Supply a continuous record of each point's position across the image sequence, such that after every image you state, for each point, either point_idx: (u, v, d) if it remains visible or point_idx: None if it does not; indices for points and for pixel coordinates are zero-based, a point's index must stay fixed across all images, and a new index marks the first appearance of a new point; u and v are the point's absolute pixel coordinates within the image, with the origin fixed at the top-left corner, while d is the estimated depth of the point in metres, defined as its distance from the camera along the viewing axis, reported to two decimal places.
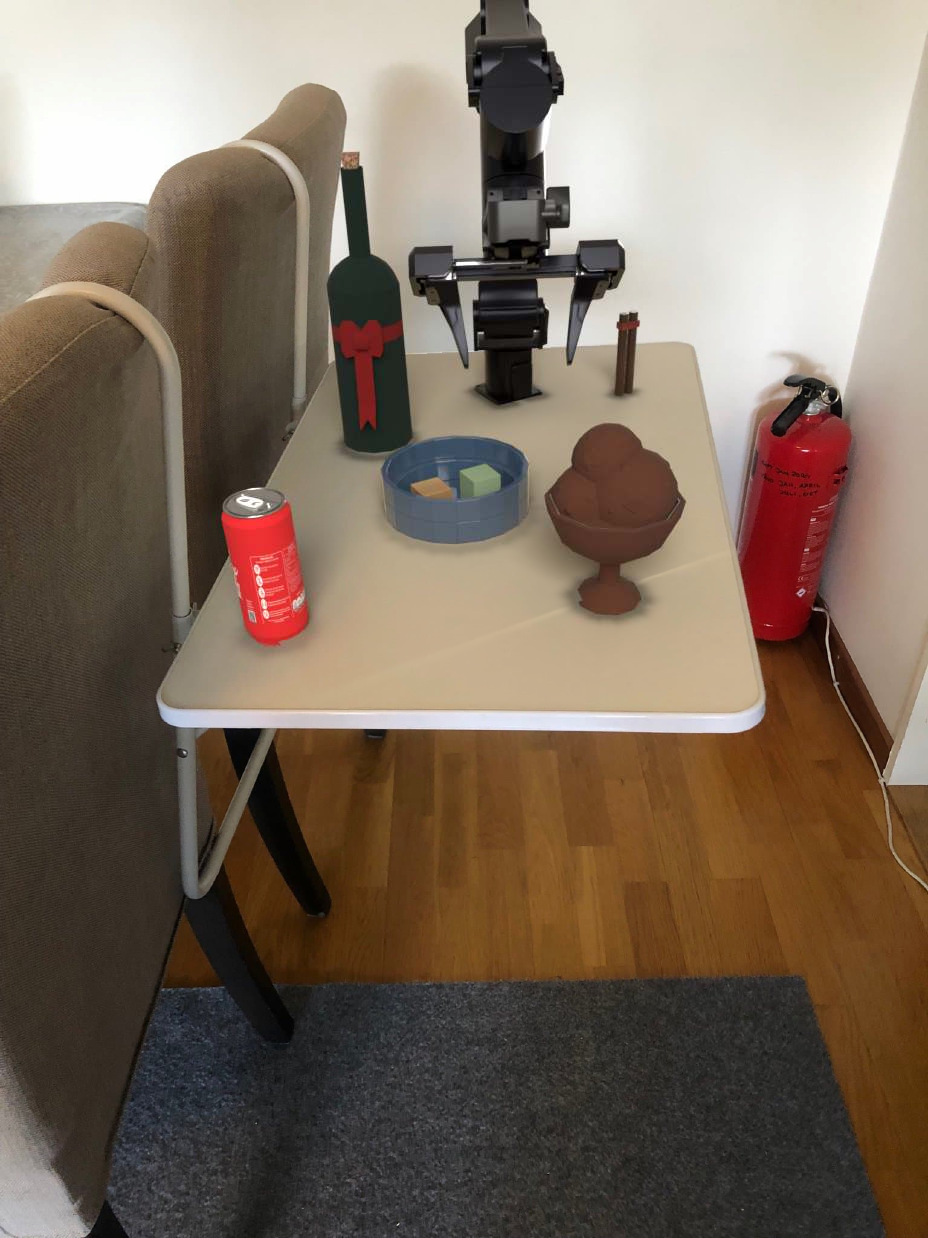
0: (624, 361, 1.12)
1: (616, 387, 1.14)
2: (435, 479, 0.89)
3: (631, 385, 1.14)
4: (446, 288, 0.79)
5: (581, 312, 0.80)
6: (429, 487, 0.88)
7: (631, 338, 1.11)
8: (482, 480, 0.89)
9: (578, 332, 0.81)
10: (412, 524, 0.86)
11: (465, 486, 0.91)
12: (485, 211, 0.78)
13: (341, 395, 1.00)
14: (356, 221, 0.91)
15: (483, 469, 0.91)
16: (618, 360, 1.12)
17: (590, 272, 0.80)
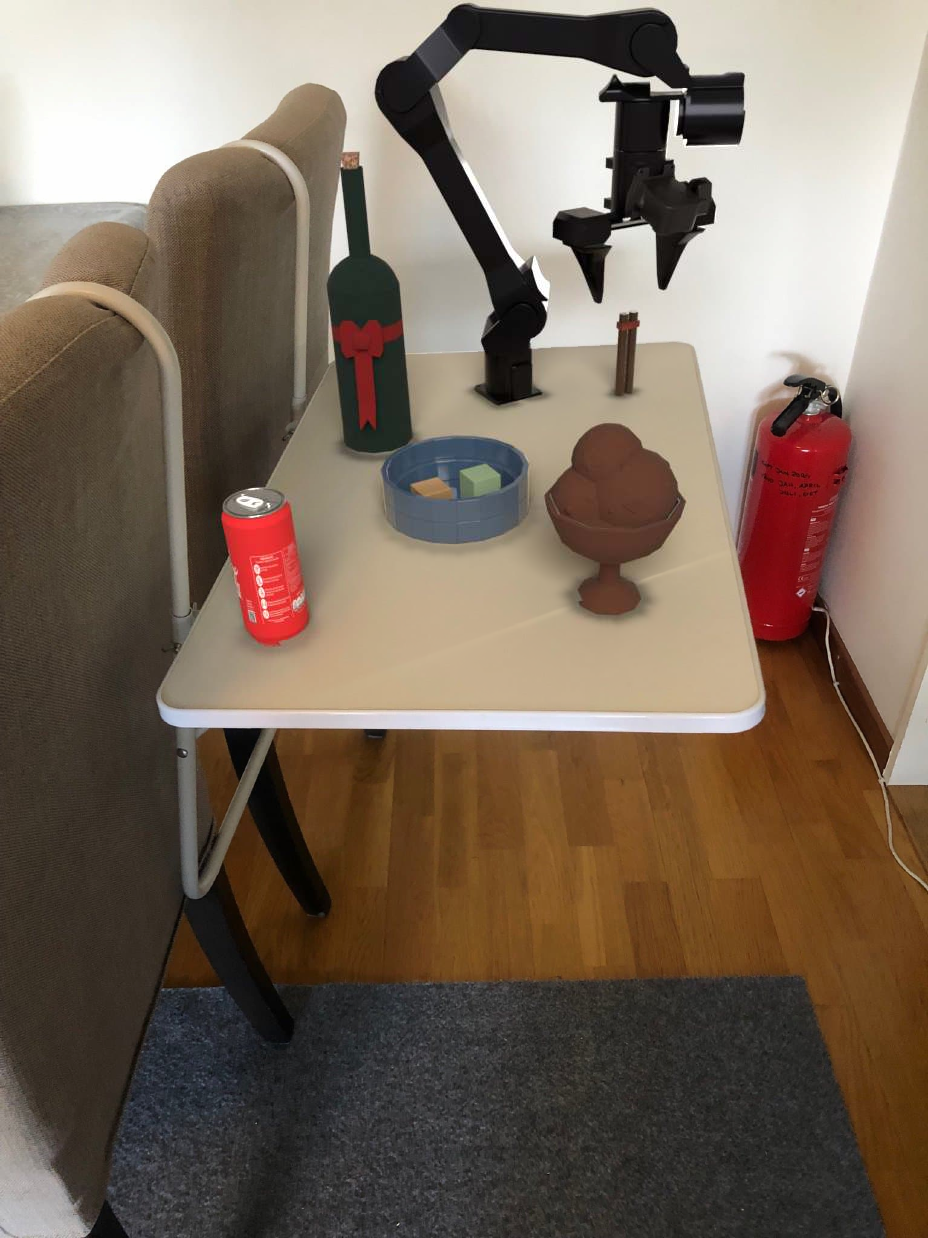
0: (624, 361, 1.12)
1: (616, 387, 1.14)
2: (435, 479, 0.89)
3: (631, 385, 1.14)
4: (602, 252, 1.00)
5: (679, 253, 1.06)
6: (429, 487, 0.88)
7: (631, 338, 1.11)
8: (482, 480, 0.89)
9: (674, 268, 1.07)
10: (412, 524, 0.86)
11: (465, 486, 0.91)
12: (636, 187, 0.97)
13: (341, 395, 1.00)
14: (356, 221, 0.91)
15: (483, 469, 0.91)
16: (618, 360, 1.12)
17: None
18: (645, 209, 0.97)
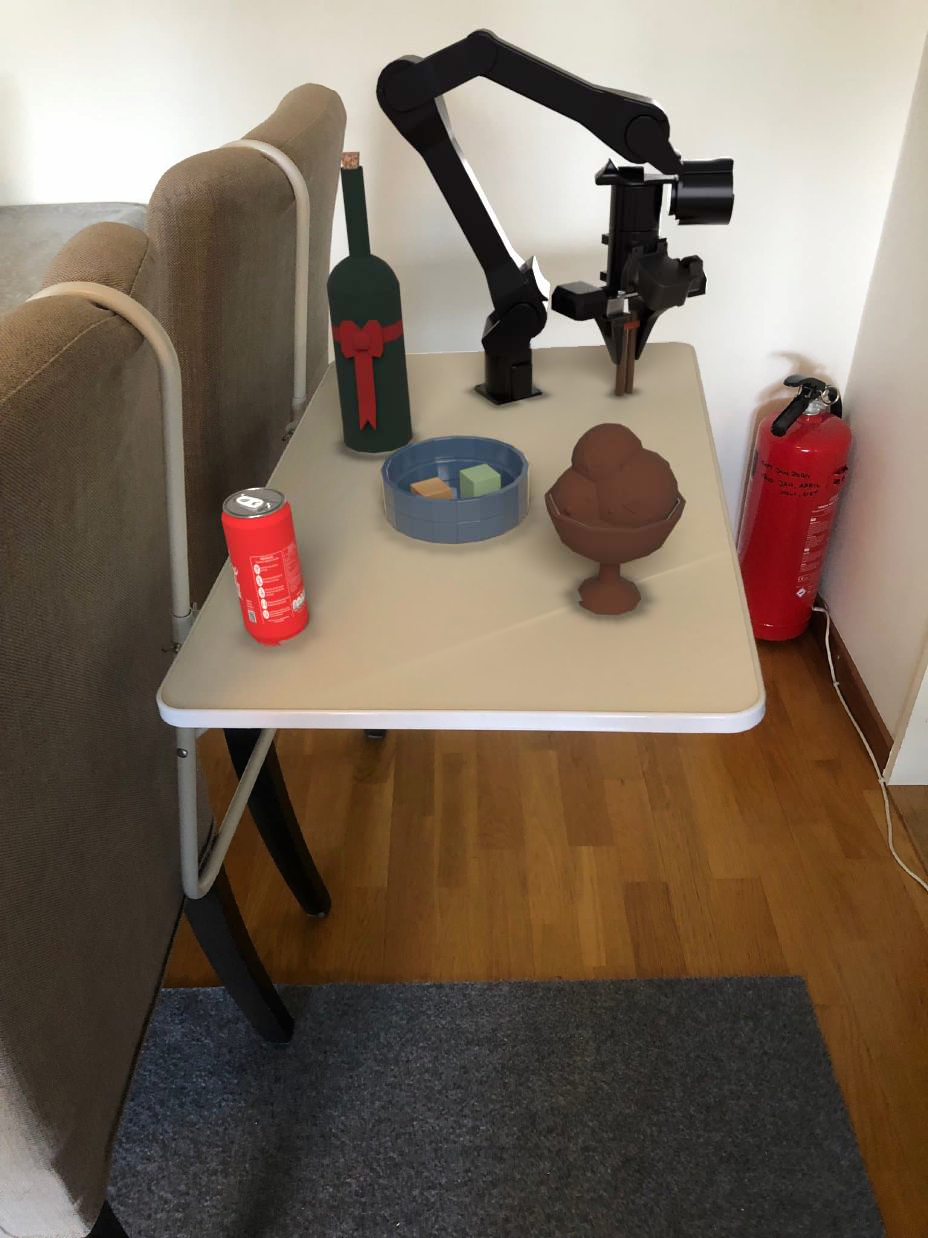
0: (624, 361, 1.12)
1: (616, 387, 1.14)
2: (435, 479, 0.89)
3: (631, 385, 1.14)
4: (621, 319, 1.06)
5: (651, 326, 1.10)
6: (429, 487, 0.88)
7: (631, 338, 1.11)
8: (482, 480, 0.89)
9: (646, 339, 1.11)
10: (412, 524, 0.86)
11: (465, 486, 0.91)
12: (630, 264, 1.02)
13: (341, 395, 1.00)
14: (356, 221, 0.91)
15: (483, 469, 0.91)
16: None
17: None
18: (640, 285, 1.02)
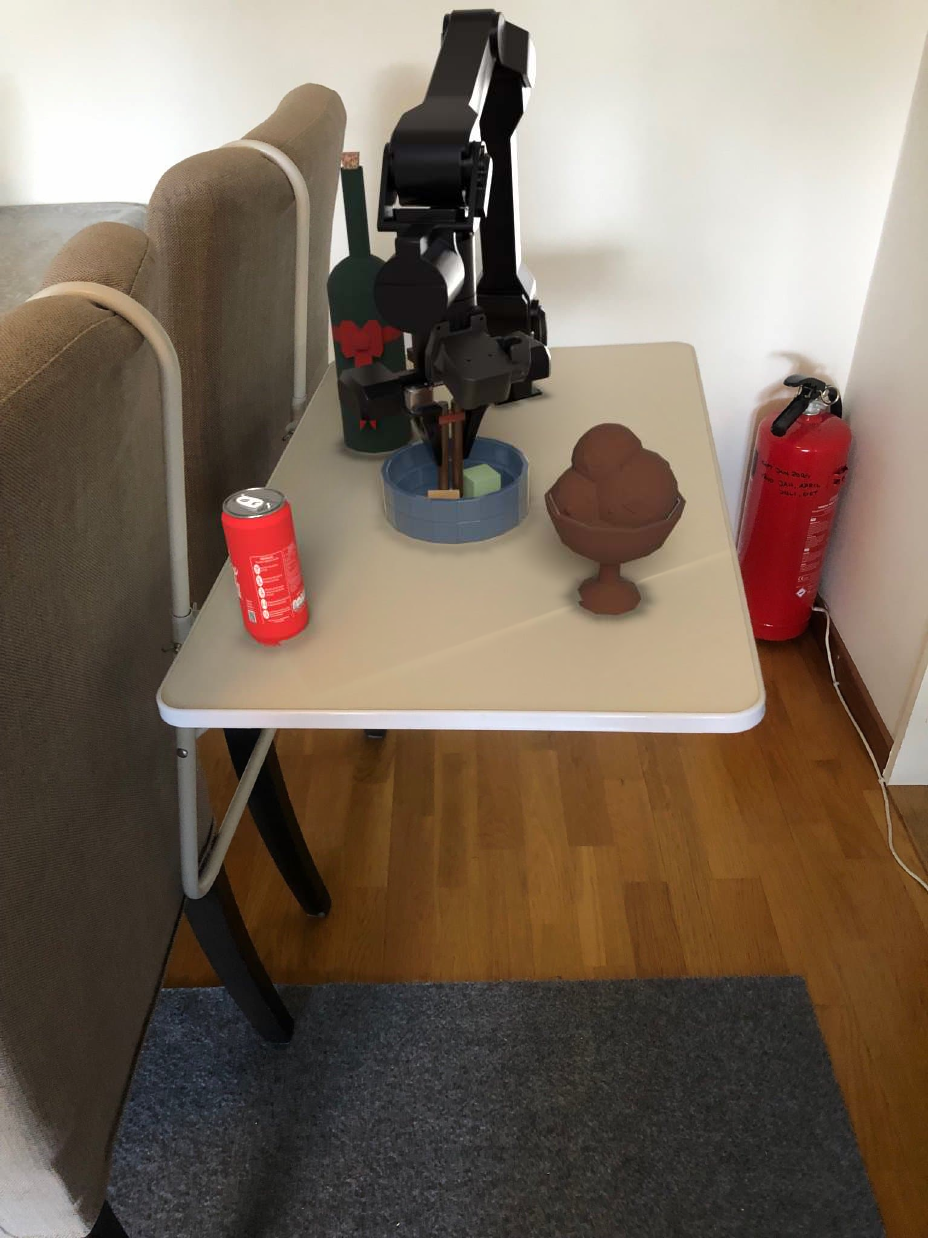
0: (446, 461, 0.86)
1: None
2: (454, 491, 0.87)
3: (460, 489, 0.88)
4: (431, 414, 0.80)
5: (478, 419, 0.84)
6: None
7: (454, 434, 0.84)
8: (482, 480, 0.89)
9: (475, 435, 0.85)
10: (412, 524, 0.86)
11: (465, 486, 0.91)
12: (433, 346, 0.76)
13: None
14: (356, 221, 0.91)
15: (483, 469, 0.91)
16: None
17: None
18: (445, 375, 0.76)
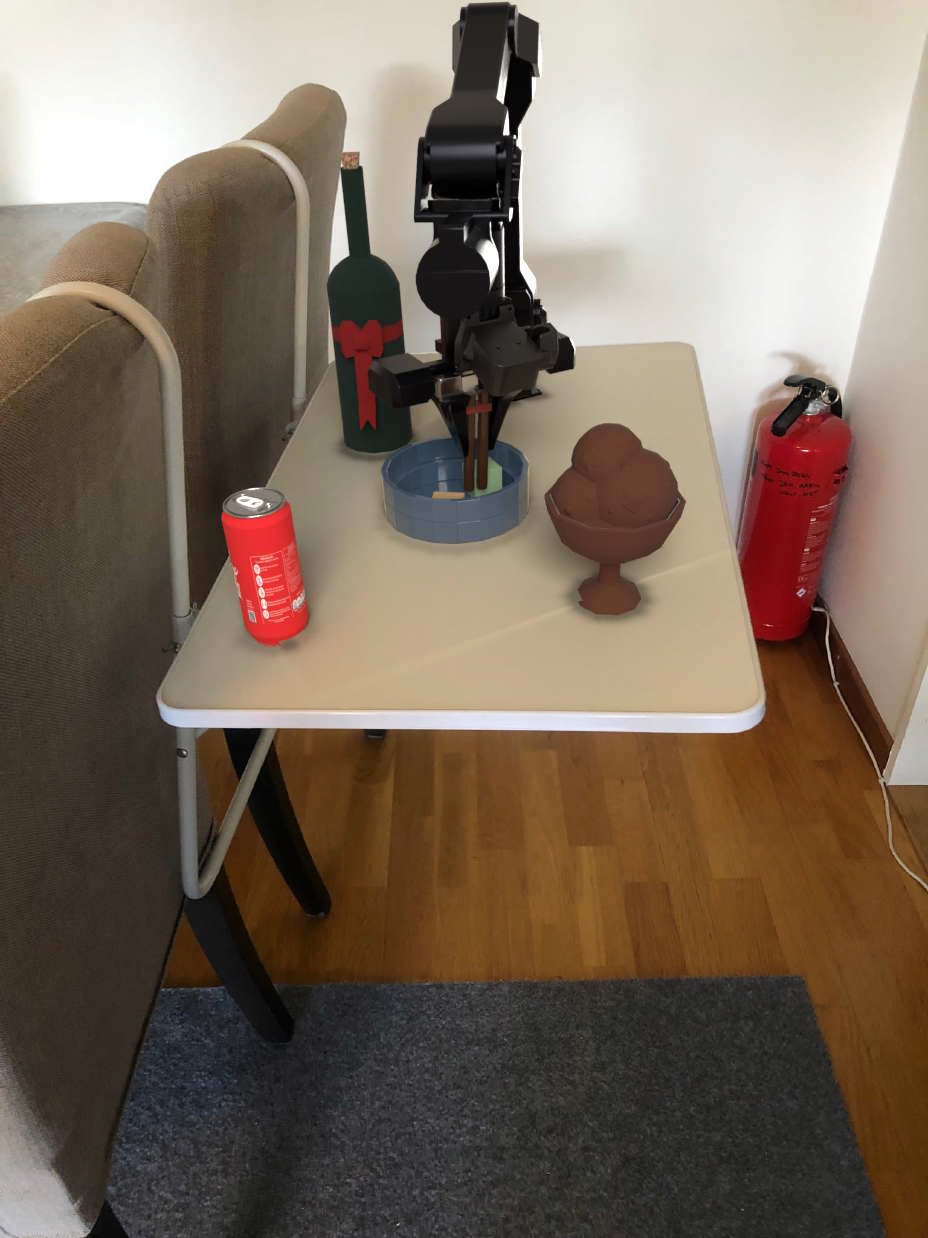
0: (472, 451, 0.87)
1: (464, 481, 0.89)
2: (459, 494, 0.87)
3: (484, 480, 0.89)
4: (459, 403, 0.81)
5: (504, 409, 0.85)
6: None
7: (480, 424, 0.86)
8: None
9: (500, 425, 0.86)
10: (412, 524, 0.86)
11: None
12: (463, 335, 0.78)
13: (341, 395, 1.00)
14: (356, 221, 0.91)
15: None
16: None
17: None
18: (475, 363, 0.77)
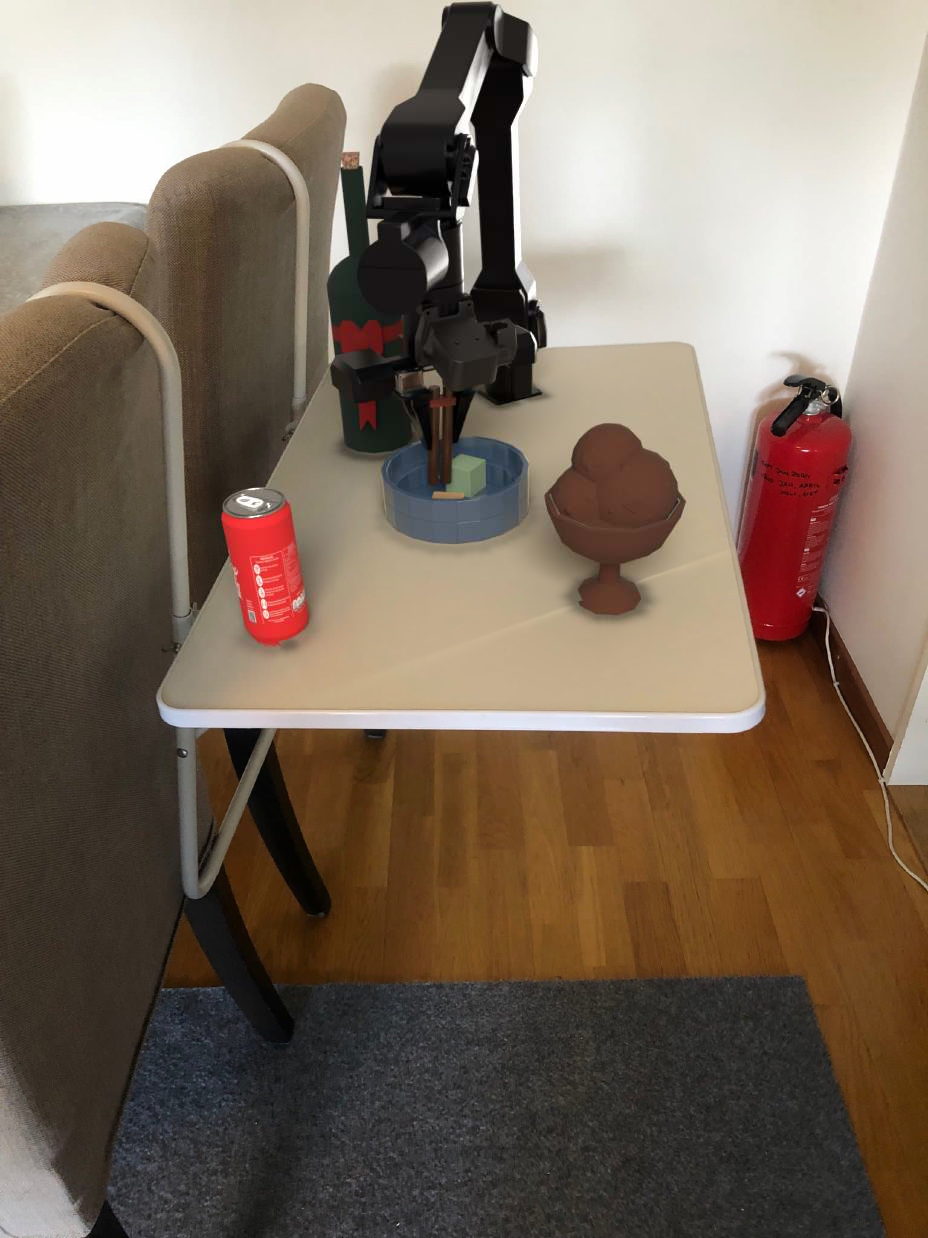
0: (436, 445, 0.88)
1: (428, 475, 0.90)
2: (459, 494, 0.87)
3: (448, 474, 0.91)
4: (421, 398, 0.83)
5: (467, 403, 0.87)
6: None
7: (445, 418, 0.87)
8: (452, 467, 0.92)
9: (464, 419, 0.88)
10: (412, 524, 0.86)
11: None
12: (423, 331, 0.79)
13: (341, 395, 1.00)
14: (356, 221, 0.91)
15: (472, 461, 0.92)
16: None
17: None
18: (434, 358, 0.79)
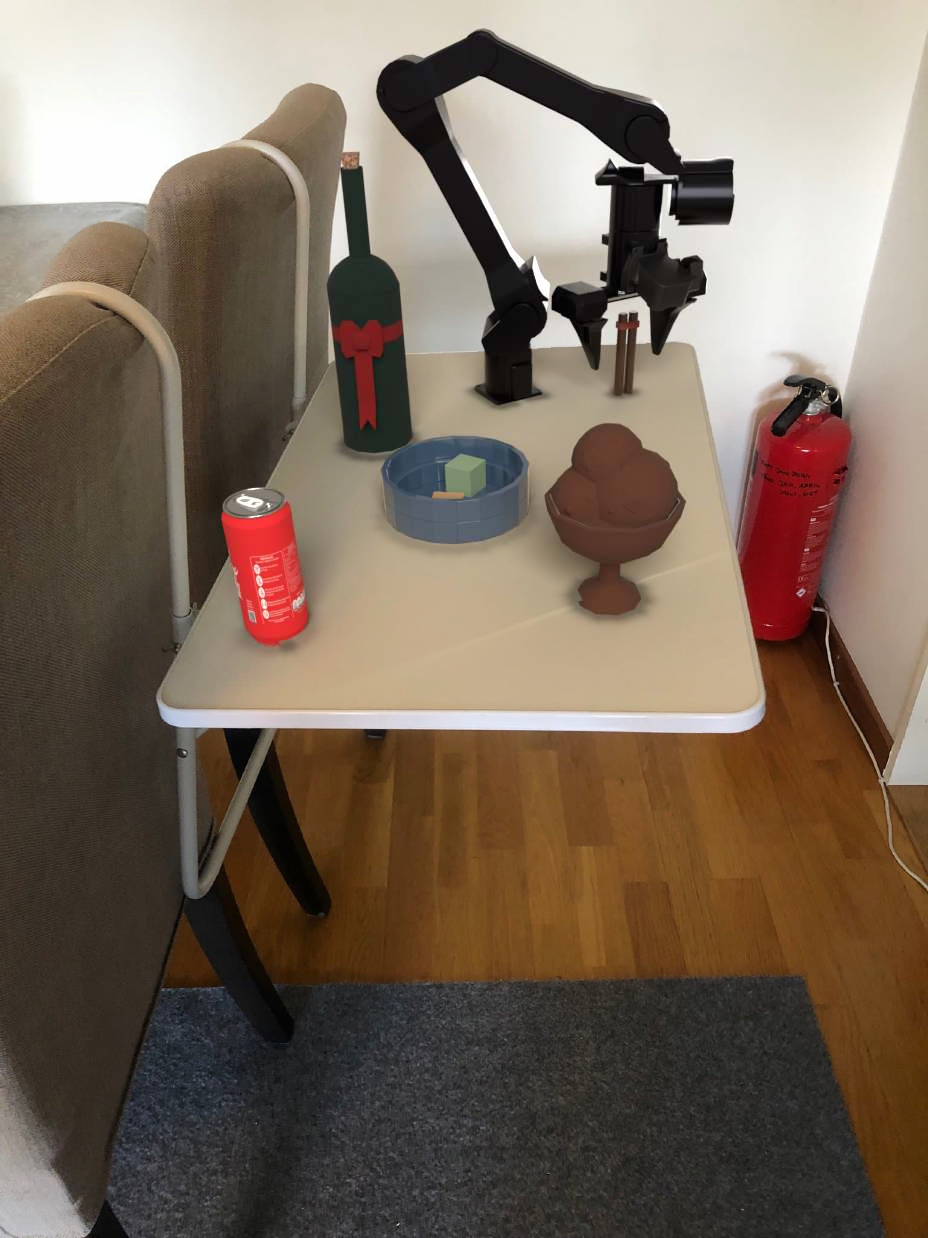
0: (623, 361, 1.12)
1: (615, 386, 1.14)
2: (459, 494, 0.87)
3: (630, 385, 1.14)
4: (599, 324, 1.05)
5: (672, 321, 1.11)
6: None
7: (630, 339, 1.11)
8: (452, 467, 0.92)
9: (667, 335, 1.12)
10: (412, 524, 0.86)
11: None
12: (631, 265, 1.02)
13: (341, 395, 1.00)
14: (356, 221, 0.91)
15: (472, 461, 0.92)
16: (617, 360, 1.12)
17: None
18: (640, 286, 1.02)
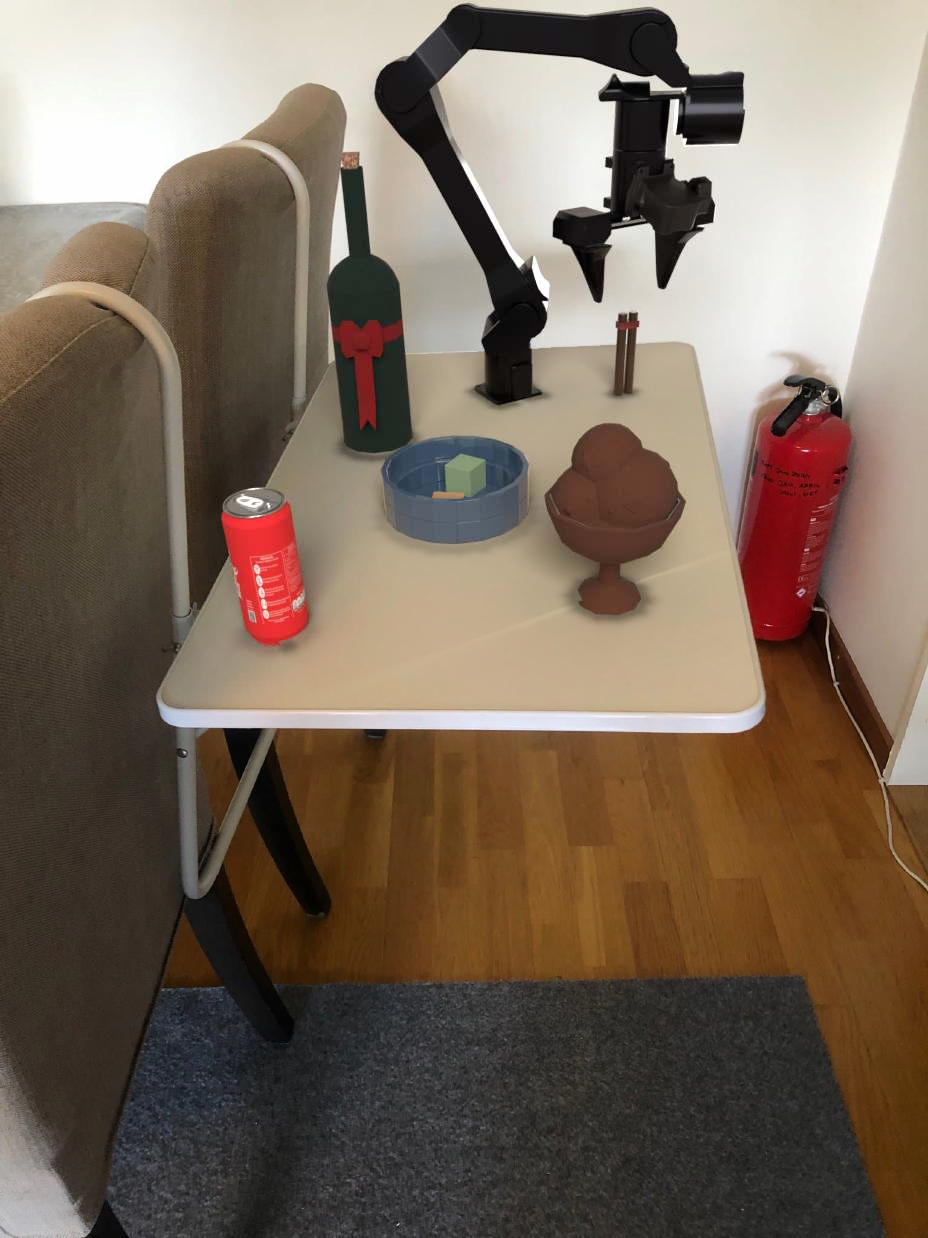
0: (622, 361, 1.12)
1: (615, 386, 1.14)
2: (459, 494, 0.87)
3: (630, 385, 1.14)
4: (602, 251, 1.00)
5: (678, 252, 1.06)
6: None
7: (630, 338, 1.11)
8: (452, 467, 0.92)
9: (674, 267, 1.07)
10: (412, 524, 0.86)
11: None
12: (636, 186, 0.97)
13: (341, 395, 1.00)
14: (356, 221, 0.91)
15: (472, 461, 0.92)
16: (617, 360, 1.12)
17: None
18: (645, 208, 0.97)
